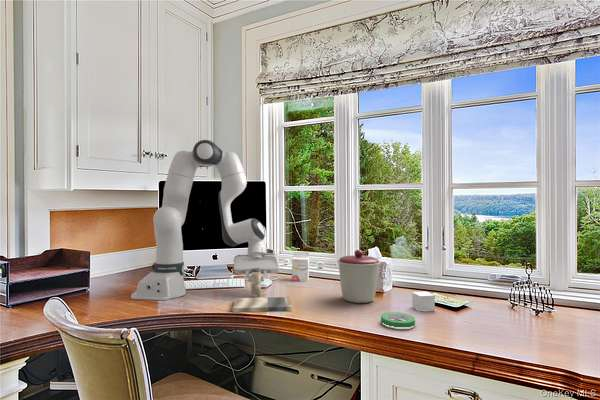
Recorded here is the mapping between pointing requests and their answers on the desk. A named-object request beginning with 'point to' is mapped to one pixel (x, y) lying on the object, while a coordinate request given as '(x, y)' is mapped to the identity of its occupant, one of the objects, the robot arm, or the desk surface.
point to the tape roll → (397, 315)
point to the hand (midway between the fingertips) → (256, 280)
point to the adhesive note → (423, 301)
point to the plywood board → (262, 304)
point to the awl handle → (256, 283)
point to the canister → (358, 277)
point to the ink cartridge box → (300, 266)
